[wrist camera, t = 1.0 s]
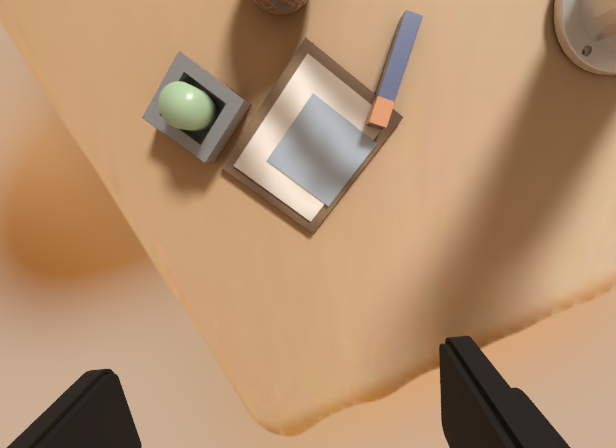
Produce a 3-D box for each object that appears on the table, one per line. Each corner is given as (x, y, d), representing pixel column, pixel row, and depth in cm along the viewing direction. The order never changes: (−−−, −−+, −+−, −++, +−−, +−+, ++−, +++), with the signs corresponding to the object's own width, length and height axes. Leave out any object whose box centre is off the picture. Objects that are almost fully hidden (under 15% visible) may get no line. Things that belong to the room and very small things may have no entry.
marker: (399, 19, 28) (405, 9, 26) (416, 25, 28) (423, 15, 26) (365, 124, 29) (369, 122, 28) (381, 130, 30) (386, 127, 28)
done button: (191, 81, 28) (172, 71, 25) (224, 106, 29) (211, 100, 25) (171, 115, 29) (150, 110, 26) (204, 139, 30) (188, 138, 26)
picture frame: (305, 40, 29) (305, 36, 28) (401, 117, 30) (404, 116, 29) (223, 167, 32) (220, 167, 31) (312, 231, 33) (312, 234, 32)
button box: (192, 60, 30) (179, 50, 27) (251, 105, 30) (244, 100, 27) (158, 120, 31) (142, 117, 28) (215, 161, 32) (204, 162, 29)
